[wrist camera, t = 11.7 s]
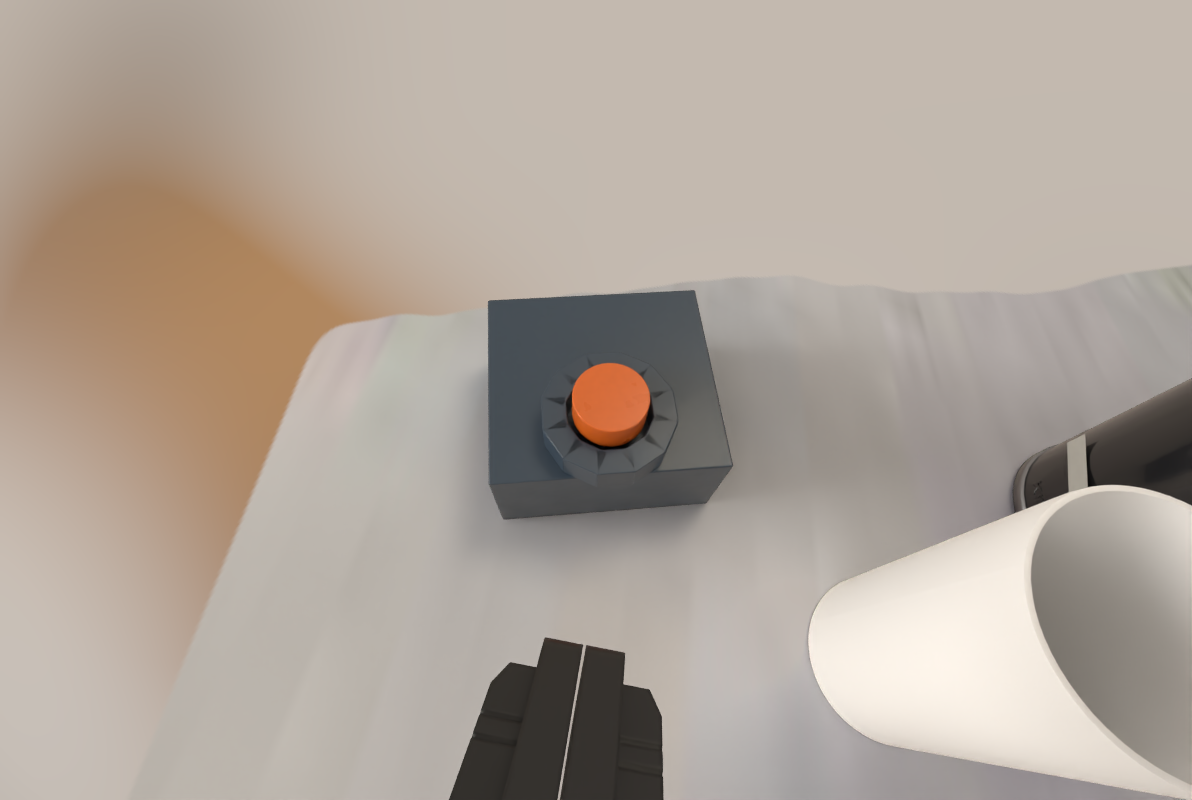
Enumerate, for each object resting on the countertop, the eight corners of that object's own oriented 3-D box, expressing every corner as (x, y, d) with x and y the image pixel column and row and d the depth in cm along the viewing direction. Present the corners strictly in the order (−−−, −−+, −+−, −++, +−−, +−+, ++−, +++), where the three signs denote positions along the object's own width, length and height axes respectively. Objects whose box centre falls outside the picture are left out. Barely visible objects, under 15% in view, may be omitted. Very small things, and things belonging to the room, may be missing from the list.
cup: (955, 778, 27) (1380, 879, 13) (791, 701, 28) (1012, 716, 14) (972, 614, 30) (1320, 549, 16) (826, 552, 32) (1031, 443, 18)
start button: (640, 378, 28) (645, 360, 26) (650, 444, 26) (655, 428, 25) (569, 382, 28) (569, 364, 26) (574, 449, 26) (575, 434, 24)
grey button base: (677, 347, 38) (701, 268, 31) (708, 512, 33) (746, 463, 26) (500, 357, 37) (483, 279, 30) (503, 529, 32) (483, 483, 25)
